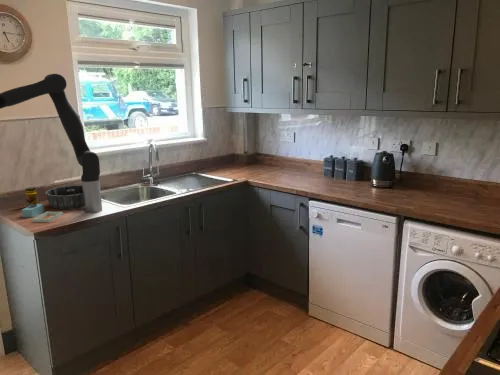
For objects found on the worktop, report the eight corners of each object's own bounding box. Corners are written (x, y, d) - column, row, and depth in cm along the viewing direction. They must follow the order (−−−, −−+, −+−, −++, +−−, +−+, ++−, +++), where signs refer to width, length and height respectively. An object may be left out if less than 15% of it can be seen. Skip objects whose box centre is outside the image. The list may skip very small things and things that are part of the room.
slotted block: (34, 211, 228) (33, 204, 227) (44, 211, 227) (43, 204, 227) (22, 217, 217) (21, 209, 216) (32, 217, 217) (31, 209, 216)
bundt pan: (93, 210, 231) (91, 193, 229) (42, 214, 226) (39, 196, 223) (99, 199, 256) (97, 183, 254) (53, 202, 251) (51, 186, 249)
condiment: (27, 210, 233) (24, 189, 231) (25, 207, 240) (22, 187, 238) (41, 208, 238) (39, 188, 235) (38, 205, 244) (36, 185, 242)
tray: (47, 216, 222) (47, 211, 221) (63, 216, 221) (62, 211, 220) (32, 223, 208) (32, 219, 208) (49, 224, 208) (48, 219, 207)
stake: (31, 213, 227) (29, 202, 225) (45, 213, 226) (43, 202, 225) (22, 218, 219) (20, 206, 218) (36, 218, 218) (35, 206, 217)
